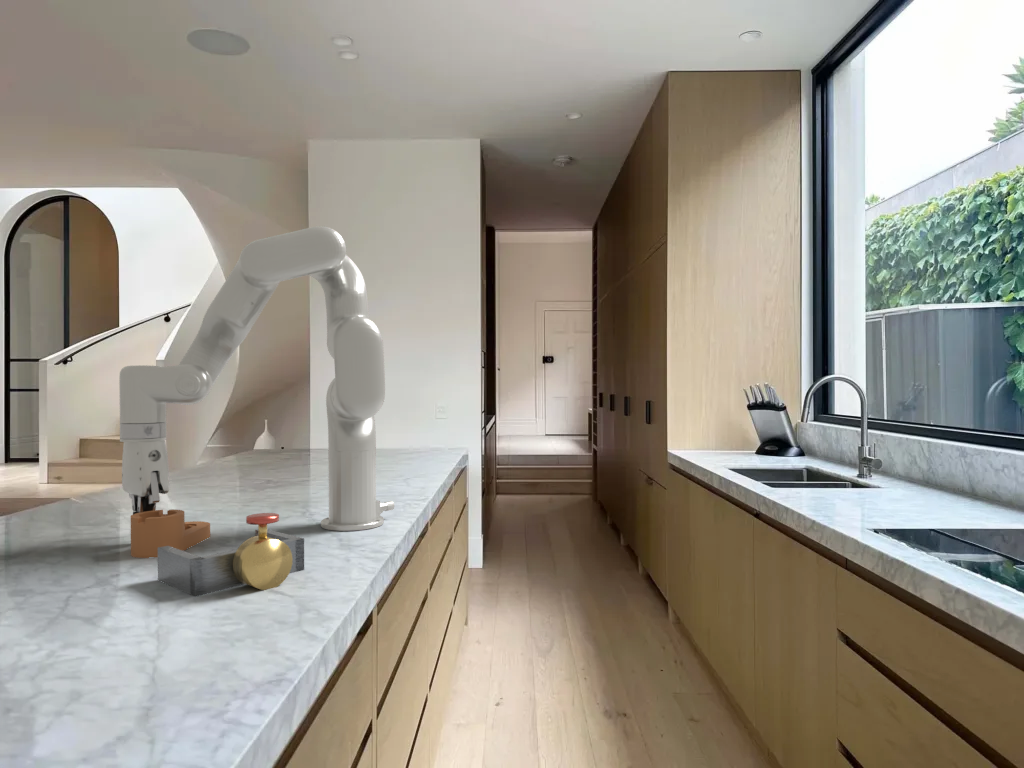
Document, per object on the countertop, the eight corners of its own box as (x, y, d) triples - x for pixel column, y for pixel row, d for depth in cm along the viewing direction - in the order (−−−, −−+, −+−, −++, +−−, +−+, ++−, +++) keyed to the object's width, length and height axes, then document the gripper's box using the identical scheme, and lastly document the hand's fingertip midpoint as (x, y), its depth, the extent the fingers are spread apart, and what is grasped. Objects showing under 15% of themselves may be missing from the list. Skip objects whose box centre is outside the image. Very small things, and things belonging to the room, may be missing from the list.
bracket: (169, 559, 113) (169, 518, 113) (120, 559, 114) (120, 518, 114) (218, 535, 131) (217, 499, 131) (175, 535, 132) (175, 500, 132)
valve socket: (263, 558, 113) (263, 497, 113) (322, 576, 102) (322, 508, 102) (157, 581, 100) (157, 512, 100) (212, 604, 89) (211, 527, 89)
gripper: (182, 433, 122) (183, 534, 122) (148, 429, 132) (148, 524, 132) (138, 435, 116) (138, 542, 116) (105, 432, 126) (106, 530, 126)
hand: (144, 532), depth 124 cm, fingers closed
